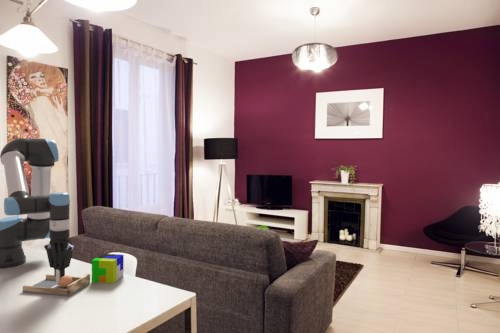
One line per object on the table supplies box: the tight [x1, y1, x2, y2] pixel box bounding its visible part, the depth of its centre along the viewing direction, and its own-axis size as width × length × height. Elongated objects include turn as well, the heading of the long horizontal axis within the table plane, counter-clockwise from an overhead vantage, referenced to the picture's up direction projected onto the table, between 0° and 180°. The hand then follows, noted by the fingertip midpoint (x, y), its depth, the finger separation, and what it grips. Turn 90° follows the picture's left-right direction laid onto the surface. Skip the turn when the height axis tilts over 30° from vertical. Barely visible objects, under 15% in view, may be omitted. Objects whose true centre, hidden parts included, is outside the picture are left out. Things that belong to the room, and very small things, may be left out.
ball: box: [59, 274, 73, 288], centre depth 149 cm, size 5×5×5 cm
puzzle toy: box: [91, 253, 124, 284], centre depth 162 cm, size 10×10×10 cm
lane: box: [22, 278, 91, 297], centre depth 150 cm, size 14×21×1 cm, turn 82°
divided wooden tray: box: [22, 273, 91, 296], centre depth 150 cm, size 14×21×4 cm, turn 82°
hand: (59, 283), depth 150 cm, fingers closed
